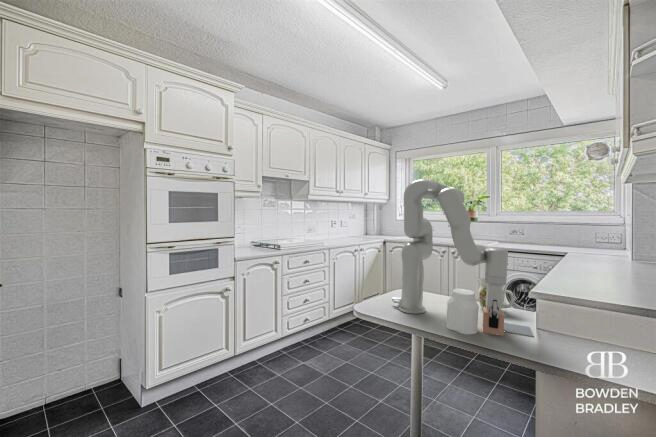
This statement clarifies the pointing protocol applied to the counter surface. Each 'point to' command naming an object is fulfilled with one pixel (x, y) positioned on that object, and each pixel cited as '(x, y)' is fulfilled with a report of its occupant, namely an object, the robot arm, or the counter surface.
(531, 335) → the mat
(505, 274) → the robot arm
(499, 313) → the salmon pink block
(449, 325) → the jar
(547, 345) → the counter surface
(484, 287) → the pitcher
